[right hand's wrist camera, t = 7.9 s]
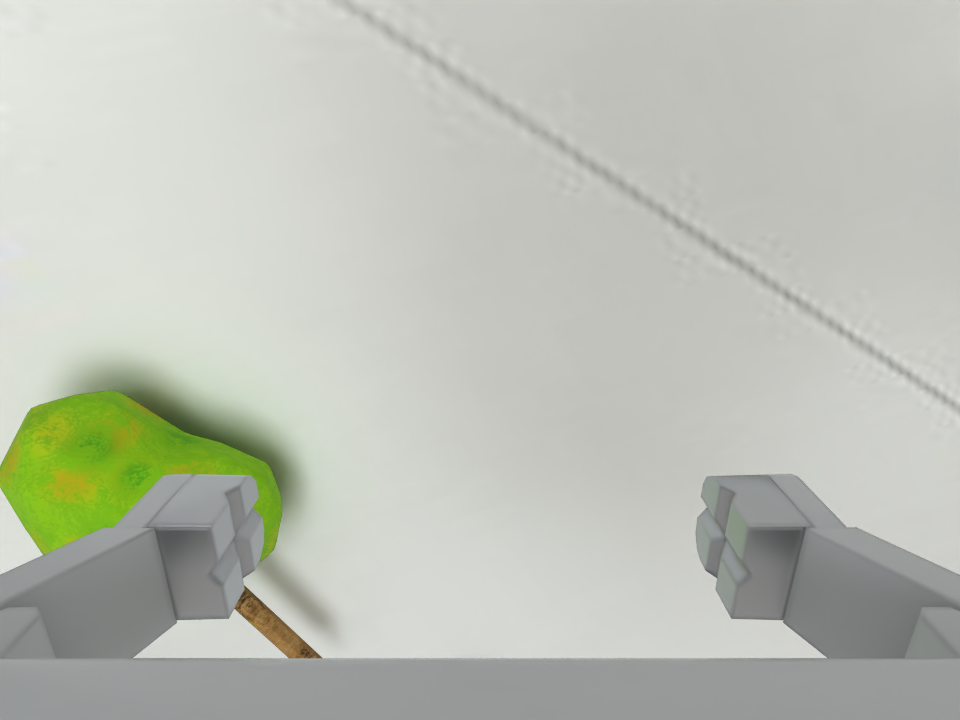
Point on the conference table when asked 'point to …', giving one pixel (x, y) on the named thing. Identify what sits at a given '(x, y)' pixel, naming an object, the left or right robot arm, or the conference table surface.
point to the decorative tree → (124, 479)
